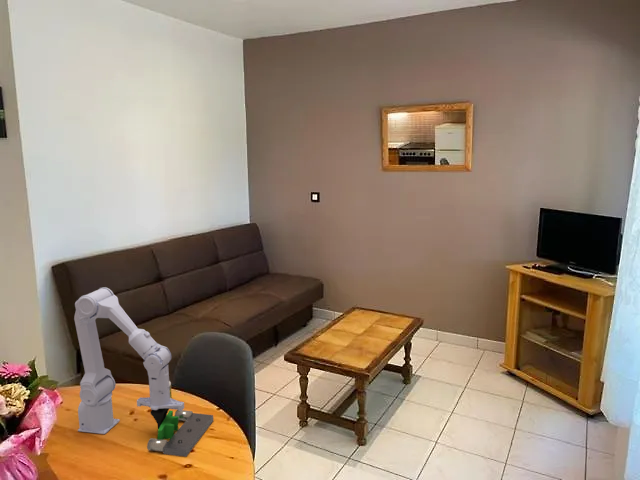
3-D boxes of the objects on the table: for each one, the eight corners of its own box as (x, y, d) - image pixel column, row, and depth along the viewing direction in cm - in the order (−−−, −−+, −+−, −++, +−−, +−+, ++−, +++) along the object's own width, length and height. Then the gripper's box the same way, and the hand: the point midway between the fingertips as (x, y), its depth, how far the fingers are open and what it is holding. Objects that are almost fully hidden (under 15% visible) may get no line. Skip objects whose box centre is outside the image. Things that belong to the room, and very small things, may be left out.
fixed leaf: (147, 452, 141) (146, 442, 140) (179, 416, 160) (178, 407, 159) (185, 457, 139) (185, 446, 138) (213, 420, 157) (213, 411, 157)
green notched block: (170, 445, 145) (170, 431, 144) (157, 444, 144) (157, 430, 144) (180, 424, 156) (181, 411, 155) (168, 423, 156) (169, 410, 155)
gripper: (129, 391, 145) (132, 433, 148) (175, 396, 142) (177, 439, 145) (142, 380, 152) (145, 421, 154) (186, 385, 149) (188, 426, 152)
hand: (161, 429), depth 150 cm, fingers closed, pressing on green notched block
